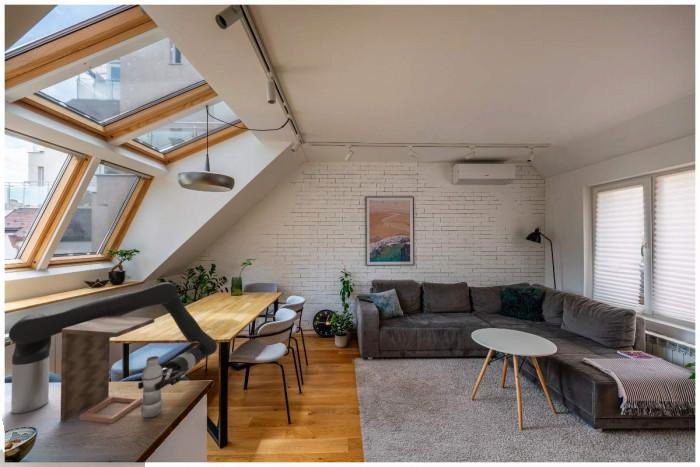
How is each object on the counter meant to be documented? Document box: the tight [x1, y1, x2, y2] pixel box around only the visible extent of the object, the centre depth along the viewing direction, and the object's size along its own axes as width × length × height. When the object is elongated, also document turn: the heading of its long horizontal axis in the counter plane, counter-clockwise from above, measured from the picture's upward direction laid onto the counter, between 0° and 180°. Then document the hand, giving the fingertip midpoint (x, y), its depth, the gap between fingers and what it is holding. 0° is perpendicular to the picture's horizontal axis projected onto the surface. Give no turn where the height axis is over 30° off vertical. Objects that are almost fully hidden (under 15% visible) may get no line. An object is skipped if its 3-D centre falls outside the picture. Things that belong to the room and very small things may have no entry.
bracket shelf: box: [60, 315, 155, 423], centre depth 106 cm, size 16×20×32 cm
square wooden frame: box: [79, 394, 143, 424], centre depth 106 cm, size 12×12×2 cm
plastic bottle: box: [140, 355, 163, 418], centre depth 104 cm, size 6×7×20 cm
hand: (147, 387), depth 102 cm, fingers closed on plastic bottle, 6 cm apart
